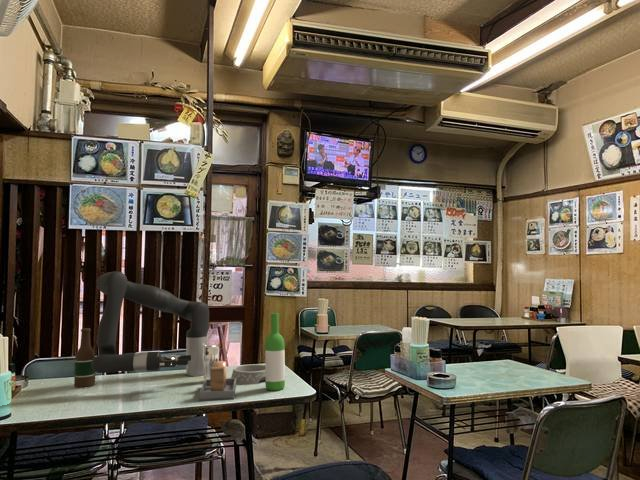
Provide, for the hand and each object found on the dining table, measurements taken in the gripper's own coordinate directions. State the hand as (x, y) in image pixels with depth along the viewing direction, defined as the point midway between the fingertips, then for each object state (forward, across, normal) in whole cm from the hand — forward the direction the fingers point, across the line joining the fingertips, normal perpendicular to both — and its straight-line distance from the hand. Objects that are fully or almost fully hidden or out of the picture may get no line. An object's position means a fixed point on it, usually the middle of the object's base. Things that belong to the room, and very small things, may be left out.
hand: (189, 359), depth 185 cm
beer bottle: (-45, +16, +12) cm, 49 cm away
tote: (+12, -6, +12) cm, 18 cm away
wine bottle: (+34, -4, +12) cm, 36 cm away
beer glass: (+7, +14, +12) cm, 20 cm away
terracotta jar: (+12, 0, +11) cm, 16 cm away
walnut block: (+12, -12, +11) cm, 20 cm away
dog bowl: (+24, +14, +13) cm, 31 cm away
